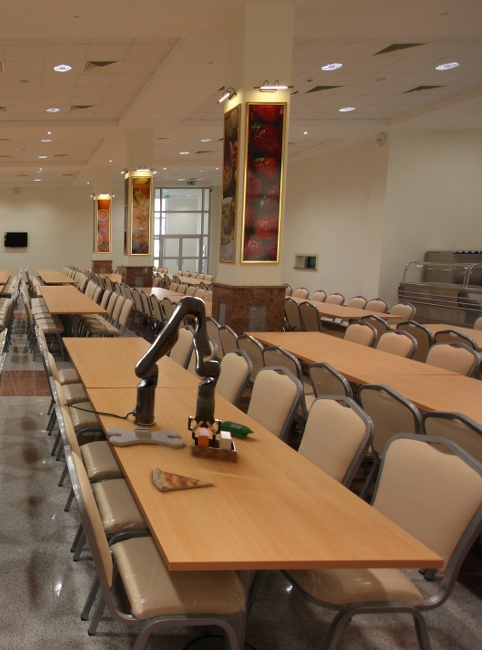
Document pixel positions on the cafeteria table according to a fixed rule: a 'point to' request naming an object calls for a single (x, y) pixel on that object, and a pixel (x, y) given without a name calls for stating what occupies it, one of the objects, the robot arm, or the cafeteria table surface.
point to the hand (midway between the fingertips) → (203, 440)
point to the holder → (144, 437)
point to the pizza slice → (175, 481)
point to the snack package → (235, 429)
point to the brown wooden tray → (214, 450)
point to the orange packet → (203, 437)
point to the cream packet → (225, 440)
